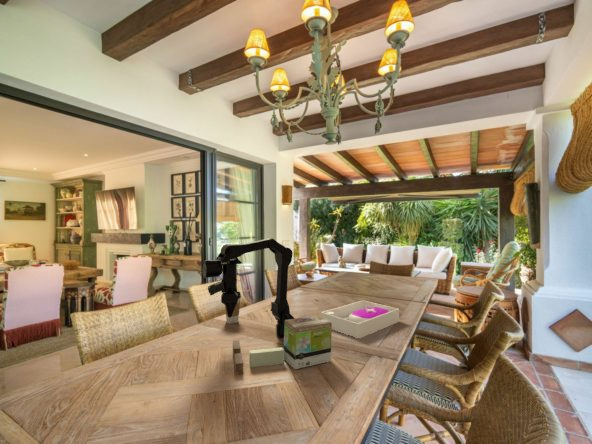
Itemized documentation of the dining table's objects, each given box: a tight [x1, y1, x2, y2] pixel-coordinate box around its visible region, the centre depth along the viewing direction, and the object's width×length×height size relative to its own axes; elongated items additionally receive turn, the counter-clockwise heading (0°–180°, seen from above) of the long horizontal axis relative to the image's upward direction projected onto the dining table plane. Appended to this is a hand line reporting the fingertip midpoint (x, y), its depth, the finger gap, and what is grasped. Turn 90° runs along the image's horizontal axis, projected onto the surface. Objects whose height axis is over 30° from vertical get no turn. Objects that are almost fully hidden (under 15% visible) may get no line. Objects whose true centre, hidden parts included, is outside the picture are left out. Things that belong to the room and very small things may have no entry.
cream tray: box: [320, 299, 400, 339], centre depth 150 cm, size 22×35×7 cm, turn 132°
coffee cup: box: [224, 291, 242, 325], centre depth 152 cm, size 8×8×15 cm
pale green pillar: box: [249, 347, 285, 368], centre depth 107 cm, size 12×2×5 cm, turn 104°
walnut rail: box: [232, 339, 244, 375], centre depth 109 cm, size 2×20×4 cm, turn 14°
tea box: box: [283, 314, 333, 371], centre depth 109 cm, size 15×10×15 cm, turn 117°
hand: (229, 313), depth 120 cm, fingers open, 9 cm apart
